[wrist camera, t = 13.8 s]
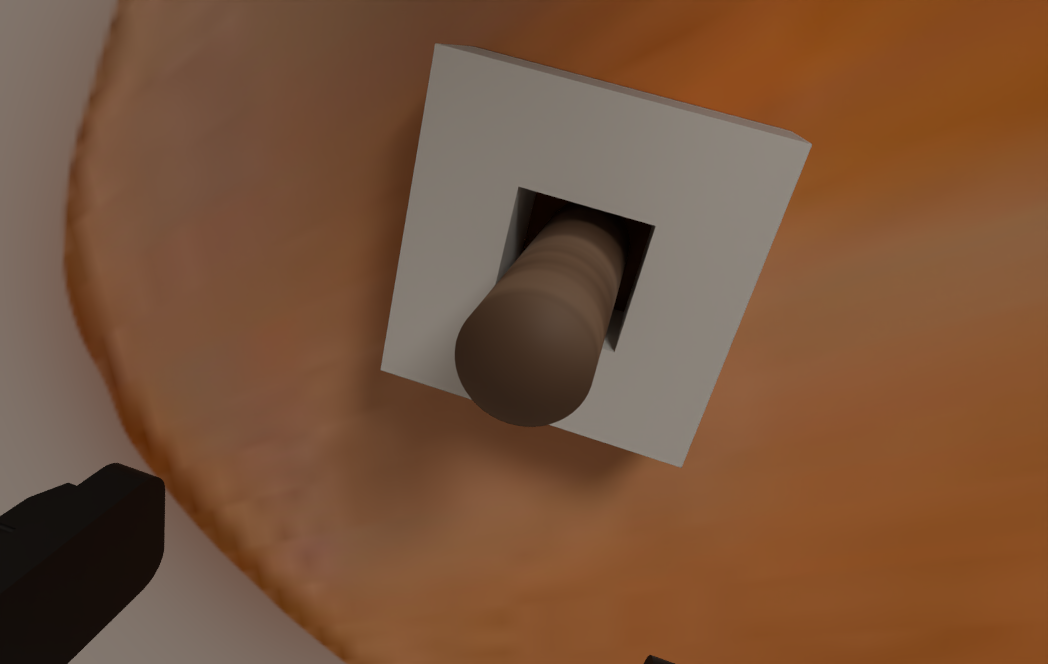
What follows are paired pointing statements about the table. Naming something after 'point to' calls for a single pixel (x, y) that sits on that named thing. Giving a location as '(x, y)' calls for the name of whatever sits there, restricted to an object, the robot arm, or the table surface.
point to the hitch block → (605, 184)
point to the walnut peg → (545, 320)
